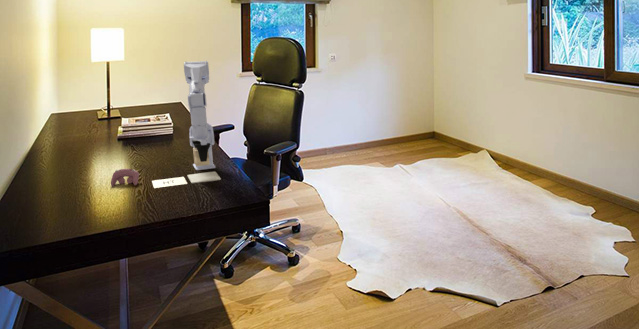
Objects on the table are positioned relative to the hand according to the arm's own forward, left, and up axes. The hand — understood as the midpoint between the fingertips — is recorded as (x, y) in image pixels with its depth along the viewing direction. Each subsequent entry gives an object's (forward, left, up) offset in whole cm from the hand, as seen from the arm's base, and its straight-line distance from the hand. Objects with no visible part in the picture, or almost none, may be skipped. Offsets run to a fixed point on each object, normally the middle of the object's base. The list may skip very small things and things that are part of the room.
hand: (202, 159), depth 193 cm
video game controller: (-6, -28, -8) cm, 30 cm away
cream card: (0, -13, -8) cm, 15 cm away
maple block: (0, 0, -2) cm, 2 cm away
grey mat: (0, 0, -8) cm, 8 cm away
